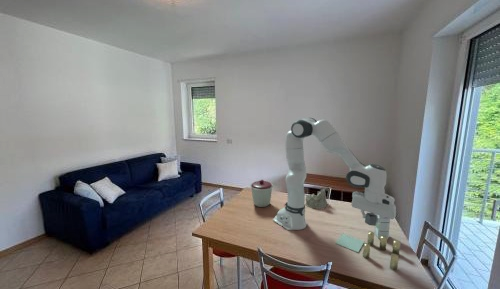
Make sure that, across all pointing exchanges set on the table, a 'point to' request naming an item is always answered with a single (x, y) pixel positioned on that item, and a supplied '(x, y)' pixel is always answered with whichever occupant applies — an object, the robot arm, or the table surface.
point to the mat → (350, 242)
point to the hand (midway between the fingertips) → (371, 219)
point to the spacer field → (383, 247)
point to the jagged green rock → (317, 200)
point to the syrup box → (382, 227)
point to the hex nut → (371, 219)
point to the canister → (261, 193)
